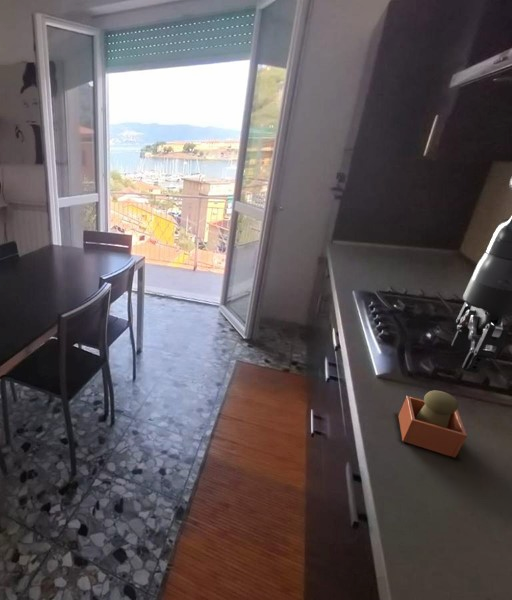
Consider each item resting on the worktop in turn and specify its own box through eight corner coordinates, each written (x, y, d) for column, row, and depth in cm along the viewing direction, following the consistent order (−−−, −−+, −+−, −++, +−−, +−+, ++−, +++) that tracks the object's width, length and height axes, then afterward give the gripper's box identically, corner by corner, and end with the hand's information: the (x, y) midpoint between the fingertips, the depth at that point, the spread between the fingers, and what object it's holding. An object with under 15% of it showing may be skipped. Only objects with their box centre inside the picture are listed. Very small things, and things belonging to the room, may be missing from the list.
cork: (400, 426, 79) (417, 387, 75) (425, 423, 80) (443, 384, 75) (424, 448, 74) (444, 407, 69) (451, 445, 75) (472, 404, 70)
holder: (398, 416, 82) (406, 395, 80) (446, 429, 78) (457, 409, 76) (402, 441, 76) (412, 420, 73) (455, 457, 72) (467, 436, 69)
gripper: (551, 300, 54) (503, 386, 61) (516, 271, 65) (478, 346, 72) (484, 291, 57) (446, 373, 64) (462, 264, 68) (431, 337, 75)
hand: (463, 359), depth 68 cm, fingers open, 8 cm apart
